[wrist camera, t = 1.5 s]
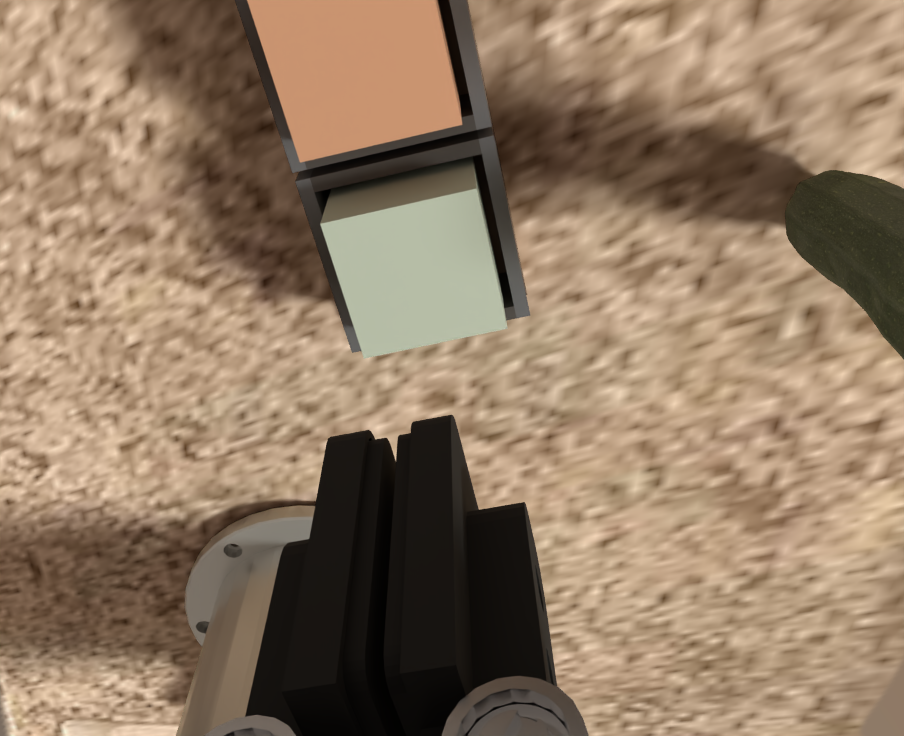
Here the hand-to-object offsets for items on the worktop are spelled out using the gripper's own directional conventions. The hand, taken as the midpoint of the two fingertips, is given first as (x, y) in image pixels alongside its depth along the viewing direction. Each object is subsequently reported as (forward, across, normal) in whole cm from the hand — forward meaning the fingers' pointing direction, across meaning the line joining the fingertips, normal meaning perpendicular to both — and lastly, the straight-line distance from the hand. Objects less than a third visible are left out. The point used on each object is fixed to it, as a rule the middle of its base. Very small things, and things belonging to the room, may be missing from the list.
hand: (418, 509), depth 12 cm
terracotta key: (+20, +1, -3) cm, 20 cm away
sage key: (+20, +1, +4) cm, 21 cm away
